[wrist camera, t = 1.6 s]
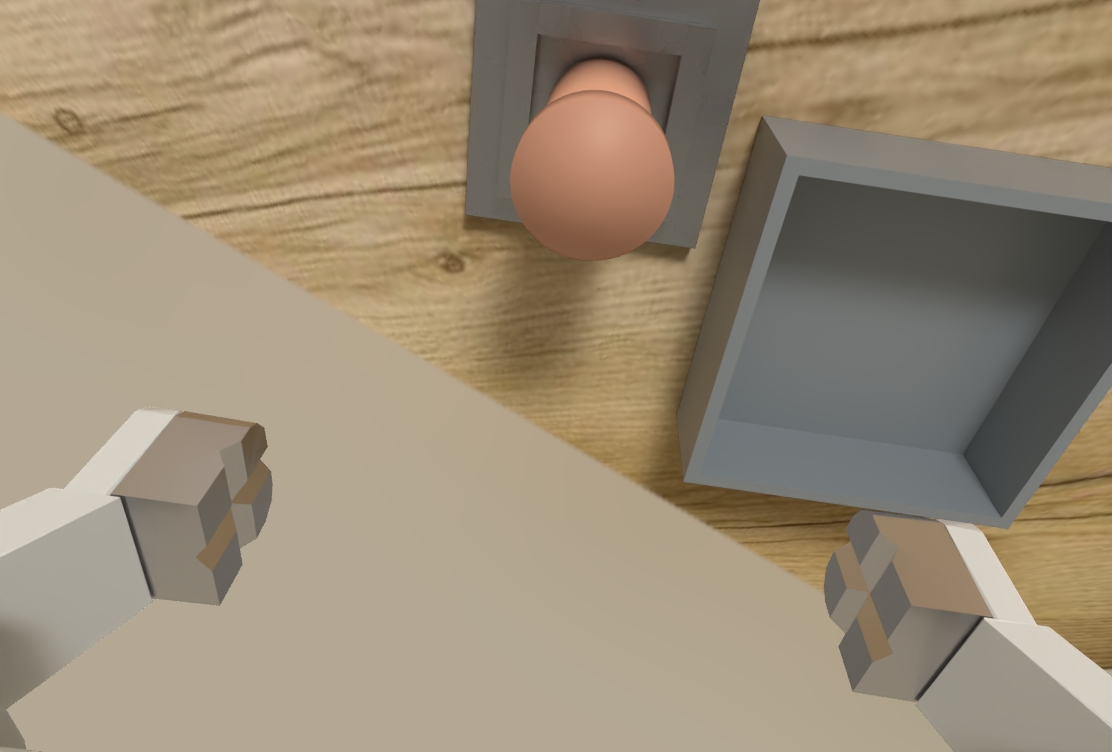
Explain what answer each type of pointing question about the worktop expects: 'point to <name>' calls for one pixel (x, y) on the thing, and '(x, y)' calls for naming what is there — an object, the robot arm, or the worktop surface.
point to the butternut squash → (593, 164)
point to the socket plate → (628, 36)
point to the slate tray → (901, 324)
